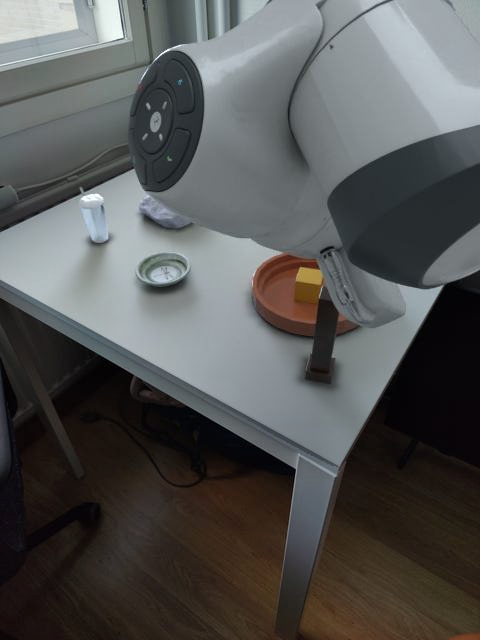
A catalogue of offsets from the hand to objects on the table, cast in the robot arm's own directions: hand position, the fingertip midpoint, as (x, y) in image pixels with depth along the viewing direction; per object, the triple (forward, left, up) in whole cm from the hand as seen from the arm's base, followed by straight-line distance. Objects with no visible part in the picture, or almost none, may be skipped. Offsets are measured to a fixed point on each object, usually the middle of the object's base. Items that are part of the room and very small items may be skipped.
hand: (370, 234), depth 47 cm
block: (+8, -17, -23) cm, 30 cm away
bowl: (+7, -17, -23) cm, 30 cm away
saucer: (+33, -16, -24) cm, 44 cm away
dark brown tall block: (+3, -1, -23) cm, 24 cm away
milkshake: (+51, -25, -24) cm, 62 cm away
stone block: (+41, -37, -24) cm, 61 cm away
